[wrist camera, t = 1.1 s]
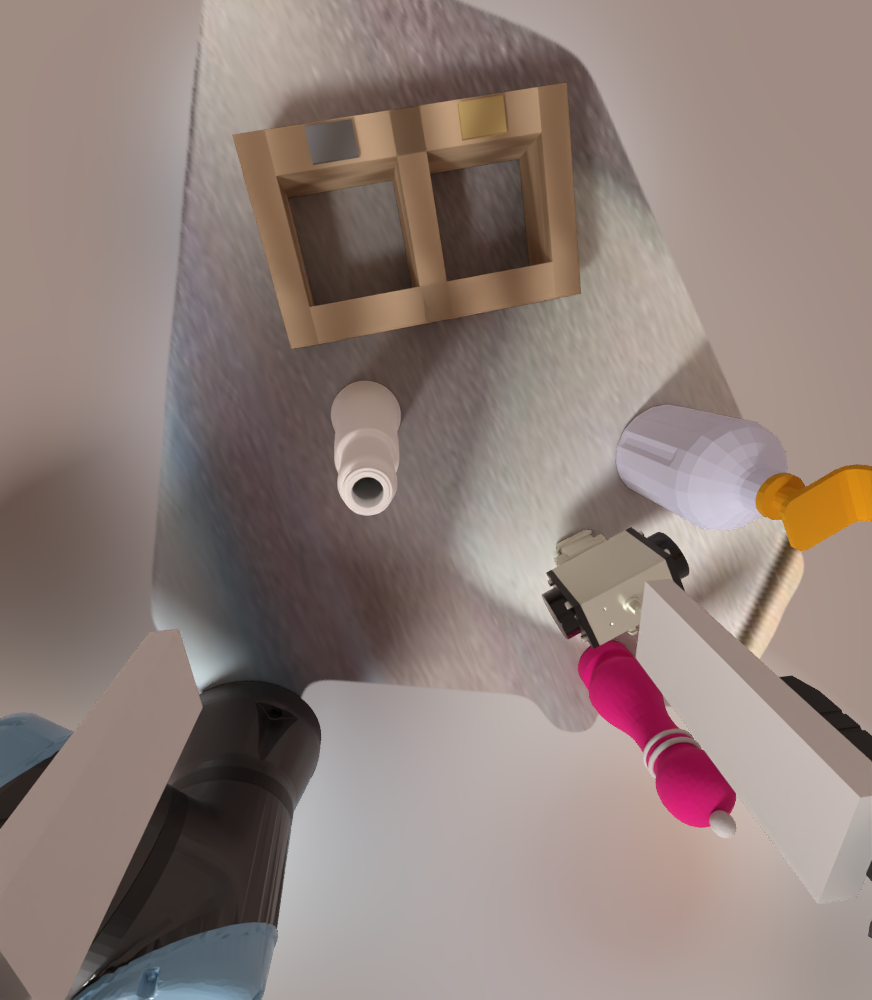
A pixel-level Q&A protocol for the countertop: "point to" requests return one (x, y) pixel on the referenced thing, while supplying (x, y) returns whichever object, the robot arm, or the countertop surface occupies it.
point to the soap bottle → (735, 476)
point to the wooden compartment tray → (418, 204)
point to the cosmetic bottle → (366, 446)
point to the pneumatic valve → (608, 581)
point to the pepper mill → (658, 738)
